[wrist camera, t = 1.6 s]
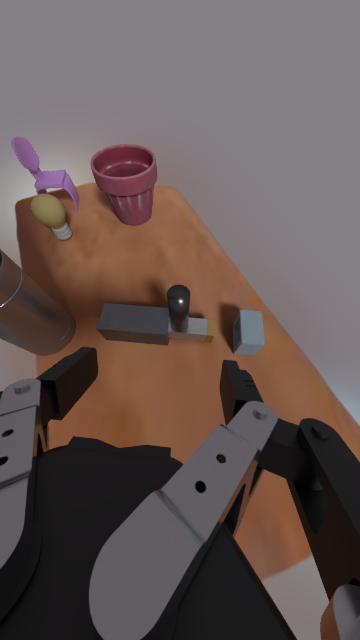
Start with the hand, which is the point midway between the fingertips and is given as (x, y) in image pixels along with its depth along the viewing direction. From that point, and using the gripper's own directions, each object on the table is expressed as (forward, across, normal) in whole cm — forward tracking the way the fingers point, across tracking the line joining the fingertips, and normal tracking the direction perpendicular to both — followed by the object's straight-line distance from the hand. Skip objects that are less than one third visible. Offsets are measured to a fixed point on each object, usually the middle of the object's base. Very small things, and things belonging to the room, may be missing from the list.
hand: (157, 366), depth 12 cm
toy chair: (+49, +37, -18) cm, 64 cm away
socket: (+24, -12, +7) cm, 27 cm away
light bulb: (+41, +32, -10) cm, 52 cm away
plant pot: (+48, +16, -17) cm, 53 cm away
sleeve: (+24, +8, +7) cm, 26 cm away
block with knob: (+23, +3, +6) cm, 24 cm away
